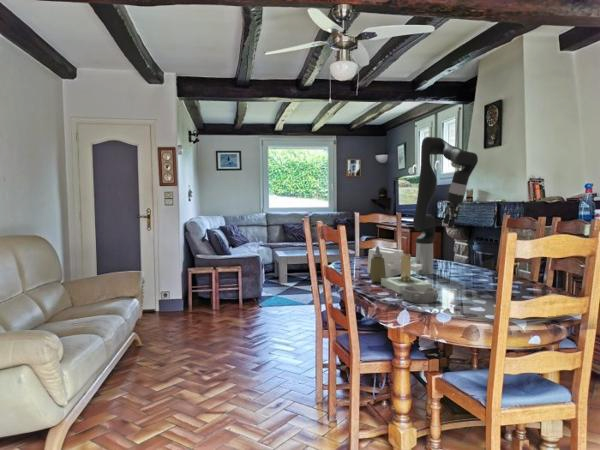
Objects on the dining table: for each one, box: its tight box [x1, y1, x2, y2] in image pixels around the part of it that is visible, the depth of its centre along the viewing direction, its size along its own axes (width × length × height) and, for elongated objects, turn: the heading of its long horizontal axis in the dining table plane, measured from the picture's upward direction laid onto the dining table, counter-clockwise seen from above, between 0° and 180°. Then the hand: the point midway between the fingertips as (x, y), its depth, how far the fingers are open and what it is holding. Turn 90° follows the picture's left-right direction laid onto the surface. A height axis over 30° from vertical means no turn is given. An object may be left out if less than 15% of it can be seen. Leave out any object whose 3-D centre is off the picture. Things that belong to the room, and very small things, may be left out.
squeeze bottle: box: [369, 245, 386, 283], centre depth 217 cm, size 8×8×18 cm
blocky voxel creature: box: [366, 246, 423, 278], centre depth 233 cm, size 15×25×28 cm
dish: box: [401, 286, 439, 304], centre depth 177 cm, size 14×14×5 cm
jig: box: [380, 276, 433, 295], centre depth 200 cm, size 20×16×4 cm
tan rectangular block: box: [400, 253, 412, 282], centre depth 200 cm, size 4×4×16 cm
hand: (447, 225), depth 207 cm, fingers open, 8 cm apart
